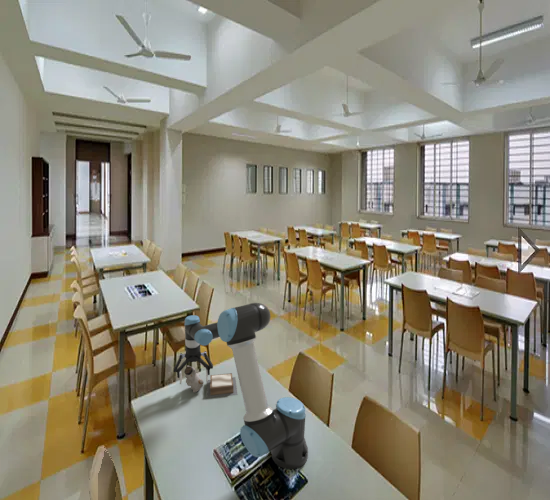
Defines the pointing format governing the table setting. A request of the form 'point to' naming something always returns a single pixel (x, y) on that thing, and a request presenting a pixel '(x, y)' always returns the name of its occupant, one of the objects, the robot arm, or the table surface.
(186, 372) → the figurine
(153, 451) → the table surface
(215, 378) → the plinth
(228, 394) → the mat
